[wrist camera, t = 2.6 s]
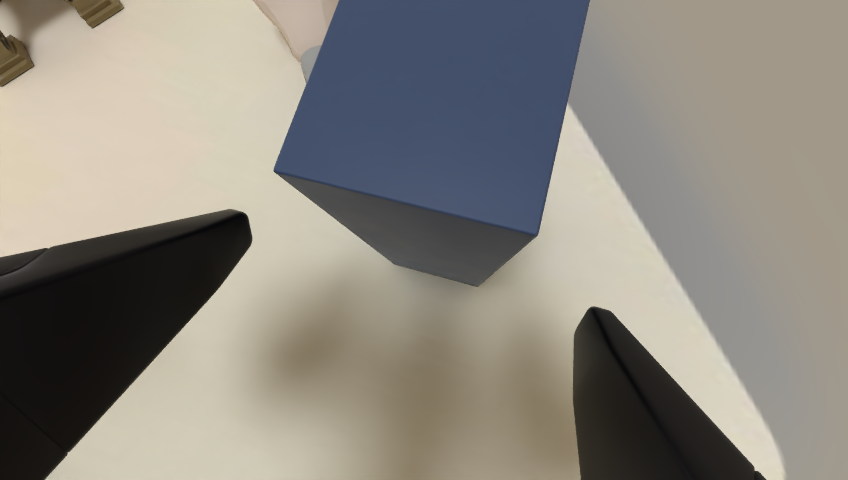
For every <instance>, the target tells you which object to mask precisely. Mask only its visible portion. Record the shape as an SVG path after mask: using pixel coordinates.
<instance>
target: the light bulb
mask: <svg viewBox="0 0 848 480" xmlns="http://www.w3.org/2000/svg"><path fill="white" fill-rule="evenodd" d="M253 1H254V2H255V3H256V5H257V6H258V7H259V9H260V10H261V11H262V12H263V13H264V14H265V15H266V16H267V18H268V19H269V20H270V21H271V22H272V23H273V24H274V25H275V26H276V27H277V28H278V29H279V30H280V32H281V33H282V34H283V35H284V36H285V38H286V39H287V42H288V44H289V46H290V48H291V51H292V53H293V55H294V57H295V58H296V59H297V60H298V61H299V62H301V66H302V70H303V73H304V77H305V80H306V83H307V82H308V79H309V76H310V74H311V71H312V69H313V66H314V63H315V61H316V58H317V56H318V53H319V51H320V48H321V45H322V43H323V40H324V38H325V35H326V33H327V30H328V27H329V25H330V22H331V20H332V17H333V14H334V12H335V9H336V7H337V4H338V2H339V0H253Z"/></svg>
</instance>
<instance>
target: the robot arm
mask: <svg viewBox="0 0 848 480" xmlns="http://www.w3.org/2000/svg"><path fill="white" fill-rule="evenodd" d="M251 243H252V234H251V229H250V224H249V219H248V216H247V215H246V214H245V213H244V212H241V211H237V210H233V209H228V210H223V211H218V212H213V213H209V214H204V215H199V216H195V217H190V218H185V219H180V220H176V221H171V222H166V223H162V224H157V225H152V226H147V227H143V228H138V229H133V230H129V231H124V232H119V233H114V234H110V235H105V236H100V237H96V238H91V239H86V240H81V241H77V242H72V243H67V244H63V245H58V246H53V247H50V248H49V249H48V248H43V249H39V250H34V251H29V252H25V253H20V254H15V255H10V256H5V257H0V480H45V479H46V478H47V476H48V475H49V474H50V473H51V472H52V471H53V470H54V469H55V468H56V467H57V466H58V464H59V463H60V462H61V461H62V460H63V459H64V458H65V457H66V456H67V454H68V453H67V452H70V451H71V450H72V449H73V448H74V446H75V445H76V444H77V443H78V442H79V441H80V440H81V439H82V438H83V437H84V436H85V434H86V433H87V432H88V431H89V430H90V429H91V428H92V427H93V426H94V425H95V423H96V422H97V421H98V420H99V419H100V418H101V417H102V416H103V415H104V414H105V413H106V411H107V410H108V409H109V408H110V407H111V406H112V405H113V404H114V403H115V402H116V401H117V399H118V398H119V397H120V396H121V395H122V394H123V393H124V392H125V391H126V390H127V388H128V387H129V386H130V385H131V384H132V383H133V382H134V381H135V380H136V379H137V378H138V376H139V375H140V374H141V373H142V372H143V371H144V370H145V369H146V368H147V367H148V366H149V364H150V363H151V362H152V361H153V360H154V359H155V358H156V357H157V356H158V355H159V353H160V352H161V351H162V350H163V349H164V348H165V347H166V346H167V345H168V344H169V343H170V341H171V340H172V339H173V338H174V337H175V336H176V335H177V334H178V333H179V332H180V331H181V329H182V328H183V327H184V326H185V325H186V324H187V323H188V322H189V321H190V320H191V318H192V317H193V316H194V315H195V314H196V313H197V312H198V311H199V310H200V309H201V308H202V306H203V305H204V304H205V303H206V302H207V301H208V300H209V299H210V298H211V297H212V295H213V294H214V293H215V292H216V291H217V290H218V288H219V287H220V286H221V285H222V283H223V282H224V281H225V279H226V278H227V277H228V275H229V274H230V273H231V271H232V270H233V269H234V267H235V266H236V265H237V263H238V262H239V261H240V259H241V258H242V257H243V255H244V254H245V253H246V251H247V250H248V249H249V247H250V246H251ZM573 405H574V416H575V425H576V435H577V445H578V455H579V464H580V474H581V480H766V479H765V478H764V477H763V476H762V475H761V473H759V472H758V471H755V469H754V466H753V465H752V464H751V463H750V462H749V461H748V460H747V458H746V457H745V456H744V455H743V454H742V453H741V452H740V451H739V450H738V449H737V448H736V447H735V445H734V444H733V443H732V442H731V441H730V440H729V439H728V438H727V437H726V436H725V435H724V433H723V432H722V431H721V430H720V429H719V428H718V427H717V426H716V425H715V424H714V423H713V422H712V420H711V419H710V418H709V417H708V416H707V415H706V414H705V413H704V412H703V411H702V410H701V409H700V407H699V406H698V405H697V404H696V403H695V402H694V401H693V400H692V399H691V398H690V397H689V396H688V394H687V393H686V392H685V391H684V390H683V389H682V388H681V387H680V386H679V385H678V384H677V382H676V381H675V380H674V379H673V378H672V377H671V376H670V375H669V374H668V373H667V372H666V371H665V369H664V368H663V367H662V366H661V365H660V364H659V363H658V362H657V361H656V360H655V359H654V358H653V356H652V355H651V354H650V353H649V352H648V351H647V350H646V349H645V348H644V347H643V346H642V345H641V343H640V342H639V341H638V340H637V339H636V338H635V337H634V336H633V335H632V334H631V333H630V331H629V330H628V329H627V328H626V327H625V326H624V325H623V324H622V323H621V322H620V321H619V320H618V318H617V317H616V316H615V315H614V314H613V313H612V312H611V311H609V310H606V309H602V308H598V307H594V306H593V307H590V308H589V309H588V310H587V312H586V313H585V315H584V317H583V318H582V320H581V322H580V323H579V325H578V327H577V328H576V331H575V334H574V358H573Z"/></svg>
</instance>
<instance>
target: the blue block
mask: <svg viewBox="0 0 848 480" xmlns="http://www.w3.org/2000/svg"><path fill="white" fill-rule="evenodd" d="M589 2H590V0H339V2H338V4H337V7H336V9H335V12H334V14H333V17H332V20H331V22H330V25H329V27H328V30H327V33H326V35H325V38H324V40H323V43H322V45H321V48H320V51H319V53H318V56H317V58H316V61H315V63H314V66H313V69H312V71H311V74H310V76H309V79H308V82H307V84H306V87H305V89H304V92H303V94H302V97H301V100H300V102H299V105H298V107H297V110H296V112H295V115H294V118H293V120H292V123H291V125H290V128H289V131H288V133H287V136H286V138H285V141H284V143H283V146H282V149H281V151H280V154H279V156H278V159H277V161H276V164H275V167H274V172H275V173H276V174H278V175H279V176H280V177H281V178H283V179H284V180H285V181H287V182H288V183H289V184H291V185H292V186H293V187H294V188H296V189H297V190H298V191H300V192H301V193H302V194H304V195H305V196H306V197H307V198H309V199H310V200H311V201H313V202H314V203H315V204H317V205H318V206H319V207H320V208H322V209H323V210H324V211H326V212H327V213H328V214H330V215H331V216H332V217H333V218H335V219H336V220H337V221H339V222H340V223H341V224H343V225H344V226H345V227H346V228H348V229H349V230H350V231H352V232H353V233H354V234H356V235H357V236H358V237H359V238H361V239H362V240H363V241H365V242H366V243H367V244H369V245H370V246H371V247H372V248H374V249H375V250H376V251H378V252H379V253H380V254H382V255H383V256H384V257H385V258H387V259H388V260H389V261H391V262H392V263H393V264H396V265H399V266H403V267H407V268H410V269H414V270H418V271H421V272H425V273H429V274H432V275H436V276H440V277H443V278H447V279H451V280H454V281H458V282H462V283H465V284H469V285H473V286H476V287H478V286H479V285H480V284H481V283H483V282H484V281H485V280H486V279H487V278H488V277H490V276H491V275H492V274H493V273H494V272H495V271H497V270H498V269H499V268H500V267H501V266H502V265H504V264H505V263H506V262H507V261H508V260H510V259H511V258H512V257H513V256H514V255H515V254H517V253H518V252H519V251H520V250H521V249H522V248H524V247H525V246H526V245H527V244H528V243H529V242H531V241H532V240H533V239H534V238H535V237H536V236H537V235H538V233H539V229H540V224H541V220H542V215H543V211H544V206H545V202H546V197H547V192H548V188H549V183H550V179H551V174H552V170H553V165H554V161H555V156H556V152H557V147H558V142H559V138H560V133H561V129H562V124H563V120H564V115H565V111H566V106H567V102H568V97H569V92H570V88H571V83H572V79H573V74H574V70H575V65H576V61H577V56H578V52H579V47H580V42H581V38H582V33H583V29H584V24H585V20H586V15H587V11H588V6H589Z"/></svg>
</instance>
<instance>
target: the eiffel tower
mask: <svg viewBox="0 0 848 480" xmlns="http://www.w3.org/2000/svg"><path fill="white" fill-rule="evenodd" d="M0 1H1V0H0ZM65 1H66V2H68V3H69V4H71V5H72V6H74V7H75V8H76V10H77V11H78V13H79V15H80V17H81V18H83V19H84V20H85V21H86V23H87V24H88V25H89V26H90V27H92V28H93V27H95V26H96V25H98V24H99V23H101V22H102V21H104V20H106V19H107V18H109V17H110V16H112V15H113V14H115V13H116V12H118V11H120V10H121V9H123V6H122V5H121V3H120V1H119V0H65ZM32 66H33V64H32V62H31V60H30V58H29V56H28V54H27V52H26V50H25V48H24V45H23V43H22V42H21V41H20V40H18V39H16V38H15V37H13V36H11V35H9V36H8V37H5V36H4V35H3V33H2V32H1V31H0V86H3V85H4V84H6V83H8V82H9V81H11V80H12V79H14V78H15V77H17V76H18V75H20V74H22V73H23V72H25V71H26V70H28V69H29V68H31V67H32Z"/></svg>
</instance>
